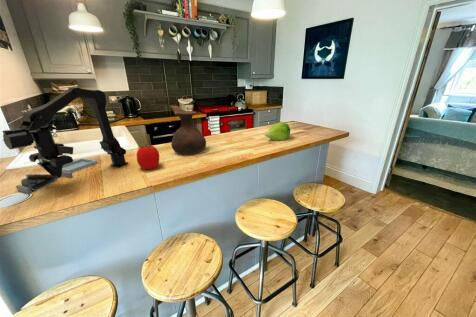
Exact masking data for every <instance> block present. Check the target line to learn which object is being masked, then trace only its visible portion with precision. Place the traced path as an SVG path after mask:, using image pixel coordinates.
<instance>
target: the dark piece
mask: <svg viewBox="0 0 476 317" xmlns="http://www.w3.org/2000/svg"><path fill="white" fill-rule="evenodd" d="M25 177H26V178H22V179H21V181H20V183H21V184H20V185H21V186H25V187H28V188H30V190H31V191H32V190H33V191H35V192H36V191H38V190H39V191H40V190H41V189H44V188H45V187H47V186H49V185H51V184H53V183H55V182H57V181H58V179H59V178H58V177H57V176H56V177H53V176H52V175H51V174H50V173H47V174H46V173H45V174H37V173H36V174H32V173H31V174H26V175H25Z"/></svg>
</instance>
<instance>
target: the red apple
mask: <svg viewBox="0 0 476 317" xmlns="http://www.w3.org/2000/svg"><path fill="white" fill-rule="evenodd" d="M136 161H137V164H138V165H139V166H140V167H141V169H144V170H153V169H156V168H158V166H159V163H160V153H159V151H158V149H157V148H156V146H154V145H149V144H148V143H147V144H145V145H143V146H142V145H141V146H140V147H138V149H137V152H136Z"/></svg>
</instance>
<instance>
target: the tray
mask: <svg viewBox="0 0 476 317" xmlns="http://www.w3.org/2000/svg"><path fill="white" fill-rule="evenodd" d="M98 164H99V163H98V160H96V159H90V158H84V157H81V158H79V159H75V160H73V162H71V163H68V164H65V165H63V166H62V171H66V172H70V173H72V174H73V173H75V172H78V171H81V170H84V169H86V168H89V167H92V166H95V165H98Z"/></svg>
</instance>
